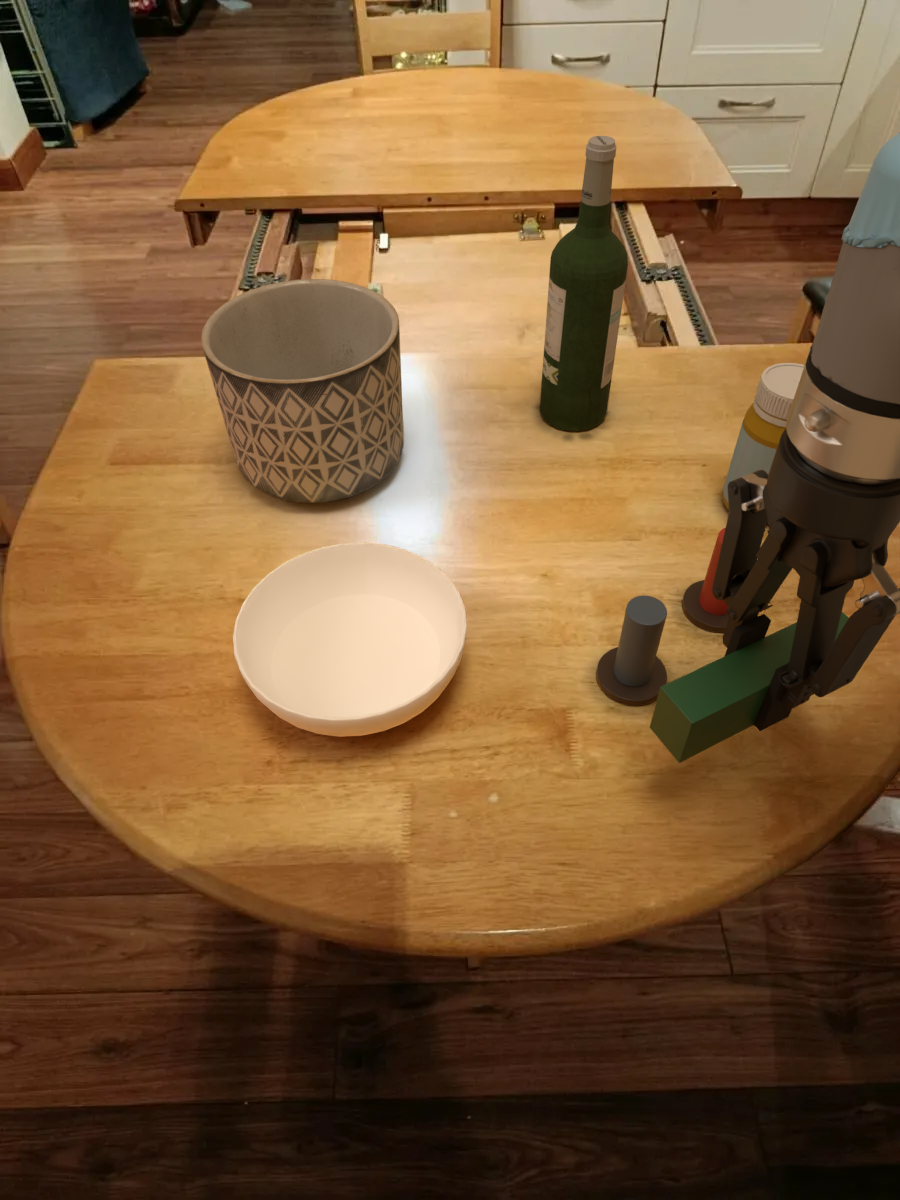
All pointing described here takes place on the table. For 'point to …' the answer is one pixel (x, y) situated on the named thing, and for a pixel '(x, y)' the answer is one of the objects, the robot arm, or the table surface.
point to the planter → (309, 387)
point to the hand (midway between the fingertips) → (751, 699)
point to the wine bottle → (584, 304)
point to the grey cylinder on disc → (635, 655)
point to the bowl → (350, 638)
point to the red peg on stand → (706, 598)
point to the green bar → (720, 695)
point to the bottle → (764, 422)
